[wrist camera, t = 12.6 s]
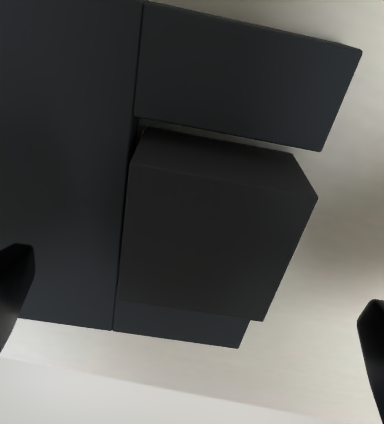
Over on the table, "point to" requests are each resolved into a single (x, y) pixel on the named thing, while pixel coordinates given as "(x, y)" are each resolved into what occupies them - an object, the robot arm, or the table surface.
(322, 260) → the table surface
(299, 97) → the base pad
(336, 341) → the table surface
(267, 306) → the black block
